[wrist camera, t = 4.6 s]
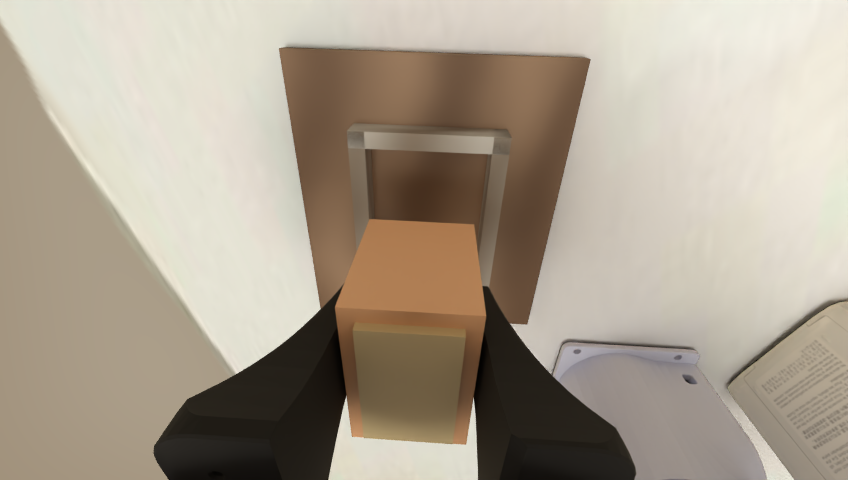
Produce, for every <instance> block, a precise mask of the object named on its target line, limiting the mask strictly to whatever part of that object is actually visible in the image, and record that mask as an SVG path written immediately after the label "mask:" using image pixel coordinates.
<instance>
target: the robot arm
mask: <svg viewBox="0 0 848 480" xmlns="http://www.w3.org/2000/svg"><path fill="white" fill-rule="evenodd" d="M343 285H344V284H343ZM343 285H342V286H341V288H340V289H339V290H338V291H337V292H336V293H335V294H334V296H333V297H332V298H331V299H330V300H329V301H328V302H327V303H326V304H325V305H324V306H323V307H322V308H321V309H320V310H319V311H318V313H317V314H316V315H315V316H313V317H312V318H311V319H310V320H309V321H308V322H307V323H306V324H305V325H304V326H303V327H302V328H301V329H300V330H298V331H297V332H296V333H295V334H294V335H293V336H291V337H290V338H289V339H288V340H286V341H285V342H284V343H283V344H281V345H280V346H279V347H277V348H276V349H275V350H273V351H272V352H270V353H269V354H267V355H266V356H265V357H263V358H262V359H260V360H259V361H257V362H256V363H254V364H253V365H251V366H249V367H248V368H246V369H244V370H243V371H241V372H239V373H238V374H236V375H234V376H232V377H230V378H229V379H227V380H225V381H223V382H221V383H219V384H218V385H215V386H213V387H211V388H209V389H207V390H205V391H203V392H201V393H199V394H197V395H195V396H193V397H191V398H189V399H187V400H186V402H185V403H184V404H183V406H182V407H181V408H180V409H179V411H178V412H177V413H176V415H175V416H174V418H173V419H172V421H171V422H170V424H169V425H168V426H167V428H166V429H165V431H164V432H163V434H162V435H161V437H160V438H159V440H158V441H157V443H156V444H155V446H154V456H155V458H156V460H157V463H158V464H159V466H160V467H161V469H162V470H163V472H164V473H165V475H166V476H167V478H168V479H169V480H328V478H329V473H330V467H331V462H332V457H333V452H334V447H335V442H336V438H337V433H338V428H339V424H340V419H341V414H342V410H343V406H344V402H345V399H346V387H345V380H344V372H343V365H342V357H341V350H340V342H339V335H338V327H337V320H336V312H335V306H336V303H337V301H338V298H339V295H340V293H341V290H342V288H343ZM482 288H483V295H484V303H485V310H486V321H485V327H484V334H483V340H482V346H481V353H480V359H479V365H478V372H477V378H476V384H475V391H474V403H475V413H476V432H477V458H478V480H767V477H766V473H765V470H764V467H763V464H762V461H761V459H760V457H759V454H758V452H757V450H756V448H755V447H754V445H753V443H752V442H751V440H750V439H749V437H748V436H747V434H746V433H745V432H744V430H743V429H742V427H741V426H740V425H739V423H738V422H737V421H736V419H735V418H734V416H733V415H732V414H731V412H730V411H729V410H728V408H727V407H726V405H725V404H724V403H723V401H722V400H721V399H720V397H719V396H718V394H717V393H716V392H715V390H714V389H713V388H712V386H711V385H710V383H709V382H708V381H707V379H706V378H705V376H704V375H703V374H702V372H701V371H700V370H699V368H698V367H697V365H696V363H697V362H698V360H699V358H700V355H699V354H698V352H697V351H695V350H689V349H672V348H656V347H639V346H622V345H606V344H589V343H573V342H568V343H565V344H564V345H563V346H562V347H561V351H560V354H559V357H558V360H557V363H556V366H555V369H554V372H553V375H551V374H550V373H549V372H548V371H547V370H546V369H545V368H544V367H543V365H542V364H541V363H540V362H539V361H538V360H537V359H536V358H535V356H534V355H533V354H532V353H531V352H530V351H529V349H528V348H527V347H526V345H525V344H524V343H523V342H522V340H521V339H520V338H519V336H518V335H517V333H516V332H515V331H514V329H513V328H512V326H511V325H510V323H509V322H508V320H507V318H506V317H505V315H504V314H503V312H502V310H501V309H500V307H499V305H498V303H497V302H496V300H495V298H494V296H493V294H492V292H491V290H490V288H489V287H488V286H482ZM575 349H577V350H575Z"/></svg>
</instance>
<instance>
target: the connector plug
mask: <svg viewBox="0 0 848 480" xmlns="http://www.w3.org/2000/svg"><path fill="white" fill-rule="evenodd" d="M335 312H336V320H337V327H338V335H339V342H340V350H341V357H342V365H343V372H344V380H345V387H346V395H347V402H348V410H349V418H350V425H351V433H352V437H364V438H373V439H387V440H401V441H416V442H430V443H444V444H465V445H466V442H467V435H468V429H469V423H470V416H471V410H472V403H473V397H474V391H475V384H476V378H477V372H478V365H479V359H480V353H481V346H482V340H483V334H484V327H485V321H486V310H485V303H484V295H483V288H482V280H481V273H480V265H479V258H478V250H477V243H476V235H475V228H474V224H457V223H437V222H418V221H398V220H378V219H369V222H368V224H367V227H366V229H365V232H364V234H363V237H362V239H361V242H360V245H359V247H358V250H357V252H356V255H355V257H354V260H353V262H352V265H351V267H350V270H349V273H348V275H347V278H346V280H345V283H344V285H343V288H342V290H341V293H340V295H339V298H338V301H337V303H336V306H335Z"/></svg>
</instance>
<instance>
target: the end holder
mask: <svg viewBox="0 0 848 480" xmlns="http://www.w3.org/2000/svg"><path fill="white" fill-rule="evenodd" d="M279 52H280V58H281V64H282V70H283V77H284V83H285V89H286V95H287V102H288V108H289V114H290V120H291V126H292V133H293V139H294V145H295V151H296V158H297V164H298V170H299V176H300V182H301V189H302V195H303V201H304V207H305V214H306V220H307V226H308V232H309V238H310V245H311V251H312V257H313V263H314V270H315V276H316V282H317V288H318V294H319V301H320V307H321V308H322V307H323V306H324V305H325V304H326V303H327V302H328V301H329V300H330V299H331V298H332V297H333V296H334V294H335V293H336V292H337V291H338V290H339V289H340V288H341V286H342V285H343V284H344V283H345V280H346V278H347V275H348V273H349V270H350V267H351V265H352V262H353V260H354V257H355V255H356V252H357V250H358V247H359V245H360V242H361V239H362V237H363V234H364V232H365V229H366V227H367V224H368V222H369V219H378V220H398V221H418V222H437V223H457V224H474V228H475V235H476V243H477V250H478V258H479V265H480V273H481V280H482V286H488V287H489V288H490V290H491V292H492V294H493V296H494V298H495V300H496V302H497V303H498V305H499V307H500V309H501V310H502V312H503V314H504V315H505V317H506V318H507V320H508V322H509V323H512V324H527V323H528V319H529V315H530V310H531V306H532V302H533V298H534V294H535V290H536V285H537V281H538V277H539V273H540V269H541V264H542V260H543V256H544V252H545V248H546V244H547V239H548V235H549V231H550V227H551V223H552V219H553V214H554V210H555V206H556V202H557V198H558V193H559V189H560V185H561V181H562V177H563V173H564V168H565V164H566V160H567V156H568V152H569V147H570V143H571V139H572V135H573V131H574V127H575V122H576V118H577V114H578V110H579V106H580V101H581V97H582V93H583V89H584V85H585V81H586V76H587V72H588V68H589V64H590V60H591V59H588V58H579V57H550V56H521V55H492V54H463V53H433V52H404V51H375V50H346V49H317V48H288V47H285V48H279Z"/></svg>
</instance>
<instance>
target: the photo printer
mask: <svg viewBox="0 0 848 480" xmlns="http://www.w3.org/2000/svg"><path fill="white" fill-rule="evenodd" d="M728 390H729V392H730V394H731V395H732V397H733V398H734V400H735V401H736V402H737V404H738V405H739V406H740V407H741V409H742V410H743V412H744V413H745V414H746V415H747V417H748V418H749V419H750V421H751V422H752V423H753V425H754V426H755V427H756V429H757V430H758V431H759V433H760V434H761V436H762V437H763V438H764V439H765V441H766V442H767V444H768V445H769V446H770V447H771V449H772V450H773V451H774V453H775V454H776V456H777V457H778V458H779V460H780V461H781V462H782V464H783V465H784V466H785V468H786V469H787V470H788V472H789V473H790V474H791V476H792V477H793V478H794V480H848V302H839V303H836V304H834V305H831V306H829V307H827V308H826V309H824V310H823V311H821V312H820V313H818V314H817V315H815V316H814V317H812V318H811V319H810V320H808V321H807V322H806V323H805V324H803V325H802V326H801V327H799V328H798V329H797V330H796V331H794V332H793V333H792V334H791V335H789V336H788V337H787V338H785V339H784V340H783V341H781V342H780V343H779V344H778V345H776V346H775V347H774V348H773V349H771V350H770V351H769V352H768V353H766V354H765V355H764V356H763V357H761V358H760V359H759V360H758V361H756V362H755V363H754V364H752V365H751V366H750V367H748V368H747V369H746V370H745V371H744V372H742V373H741V374H740V375H739V376H738V377H737V378H736V379H734V380H733V382H732V383H731V384H730V385H729V387H728Z"/></svg>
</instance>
